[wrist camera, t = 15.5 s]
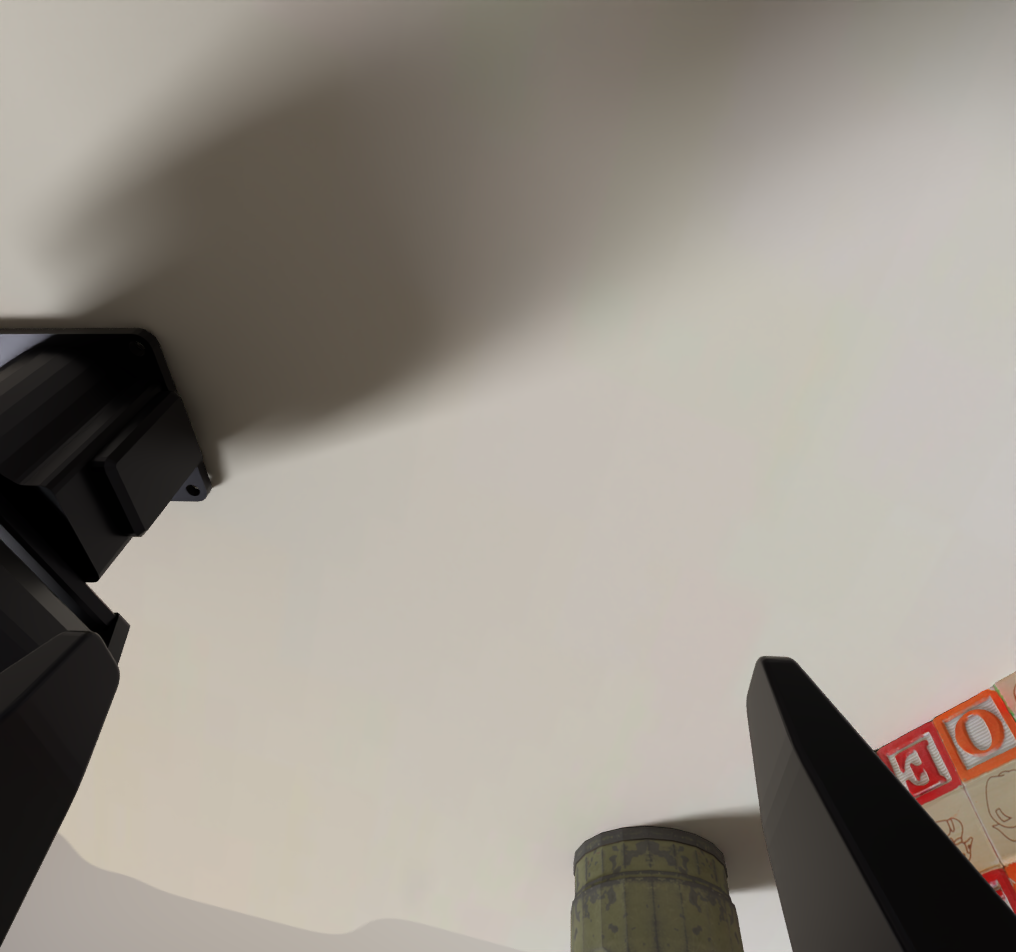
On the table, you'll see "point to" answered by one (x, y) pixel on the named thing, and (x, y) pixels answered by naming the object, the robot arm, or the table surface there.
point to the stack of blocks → (968, 779)
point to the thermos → (652, 894)
